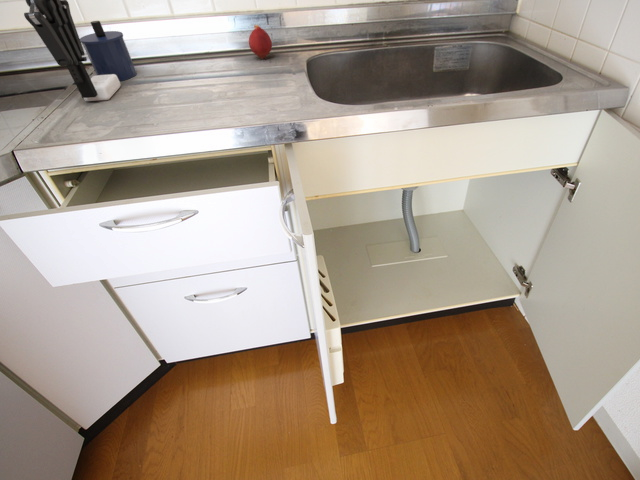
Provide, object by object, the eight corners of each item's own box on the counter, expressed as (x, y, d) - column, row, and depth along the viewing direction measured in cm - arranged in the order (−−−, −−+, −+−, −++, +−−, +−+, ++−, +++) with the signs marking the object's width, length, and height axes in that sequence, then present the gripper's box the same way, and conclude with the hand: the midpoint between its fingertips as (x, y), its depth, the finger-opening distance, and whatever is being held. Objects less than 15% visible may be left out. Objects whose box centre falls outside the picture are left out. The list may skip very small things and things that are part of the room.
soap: (98, 88, 93) (92, 74, 91) (122, 86, 93) (116, 72, 91) (84, 102, 86) (77, 88, 84) (109, 100, 86) (103, 86, 84)
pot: (93, 77, 99) (76, 40, 93) (127, 68, 103) (112, 31, 97) (108, 85, 94) (90, 46, 88) (142, 74, 99) (128, 37, 93)
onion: (267, 54, 108) (261, 20, 102) (278, 58, 104) (272, 24, 99) (248, 58, 105) (241, 24, 99) (259, 63, 102) (252, 28, 96)
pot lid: (75, 42, 93) (66, 23, 90) (114, 34, 98) (107, 15, 95) (90, 49, 88) (81, 28, 86) (131, 39, 93) (123, 20, 90)
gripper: (27, -38, 64) (97, 106, 80) (61, -46, 74) (117, 84, 90) (-21, -35, 64) (59, 109, 80) (20, -44, 73) (83, 87, 89)
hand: (90, 96), depth 85 cm, fingers closed
